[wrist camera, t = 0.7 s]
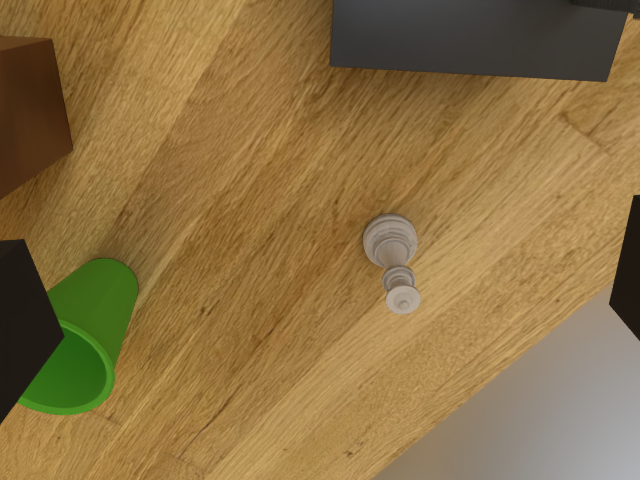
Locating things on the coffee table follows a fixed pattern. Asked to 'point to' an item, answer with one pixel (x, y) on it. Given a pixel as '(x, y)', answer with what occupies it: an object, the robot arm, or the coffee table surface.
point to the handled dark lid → (481, 36)
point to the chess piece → (394, 259)
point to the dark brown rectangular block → (29, 111)
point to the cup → (85, 338)
